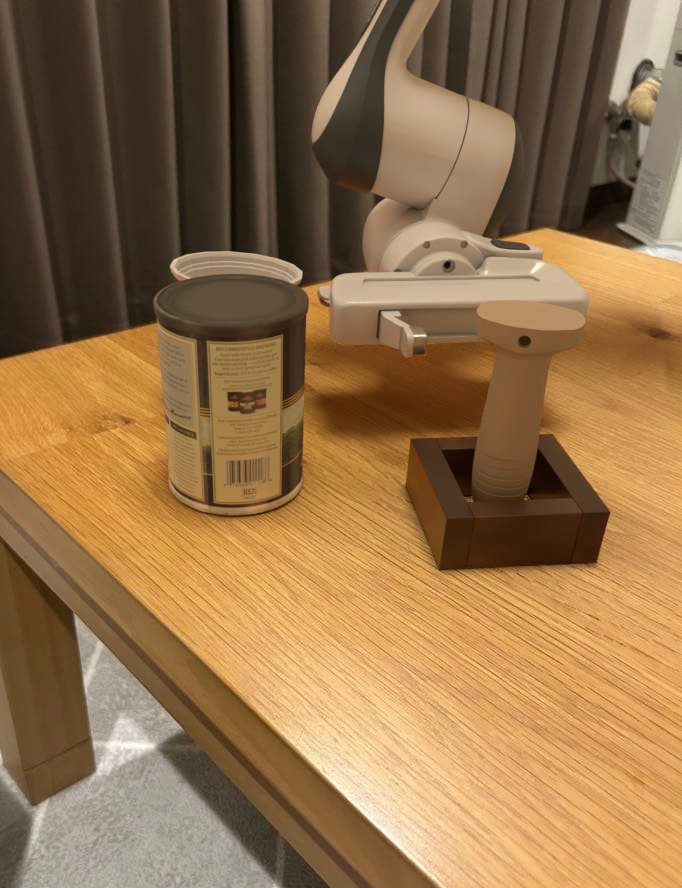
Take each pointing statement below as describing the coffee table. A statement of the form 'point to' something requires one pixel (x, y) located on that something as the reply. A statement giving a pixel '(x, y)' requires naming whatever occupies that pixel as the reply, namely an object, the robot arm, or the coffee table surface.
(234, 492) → the coffee can
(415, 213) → the robot arm
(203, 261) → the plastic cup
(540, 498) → the stand
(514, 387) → the handle
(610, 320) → the coffee table surface
